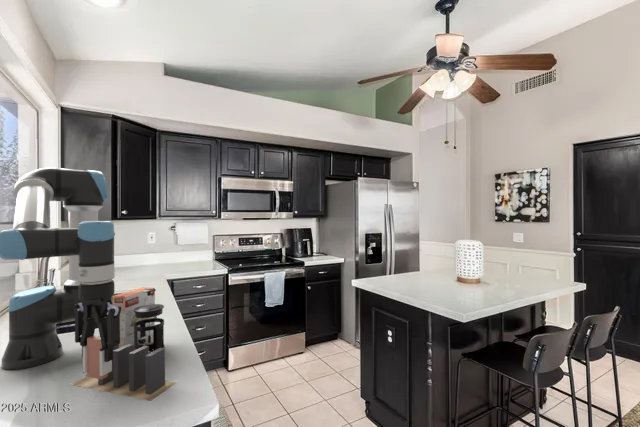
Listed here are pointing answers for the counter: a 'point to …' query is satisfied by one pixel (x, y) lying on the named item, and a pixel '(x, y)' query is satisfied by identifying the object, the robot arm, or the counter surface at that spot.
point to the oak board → (122, 388)
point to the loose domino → (94, 357)
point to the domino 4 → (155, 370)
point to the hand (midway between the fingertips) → (97, 371)
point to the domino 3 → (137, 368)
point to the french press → (158, 330)
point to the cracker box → (132, 313)
